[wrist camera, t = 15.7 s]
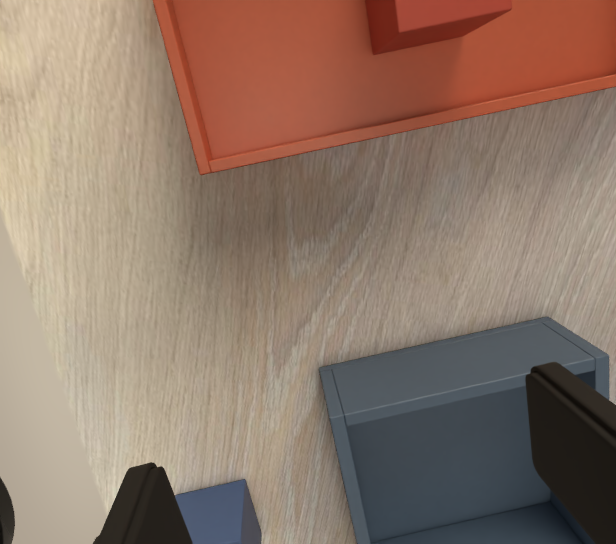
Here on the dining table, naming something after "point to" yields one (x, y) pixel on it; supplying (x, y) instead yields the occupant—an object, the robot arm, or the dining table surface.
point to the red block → (427, 20)
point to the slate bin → (453, 438)
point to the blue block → (220, 515)
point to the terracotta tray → (364, 72)
